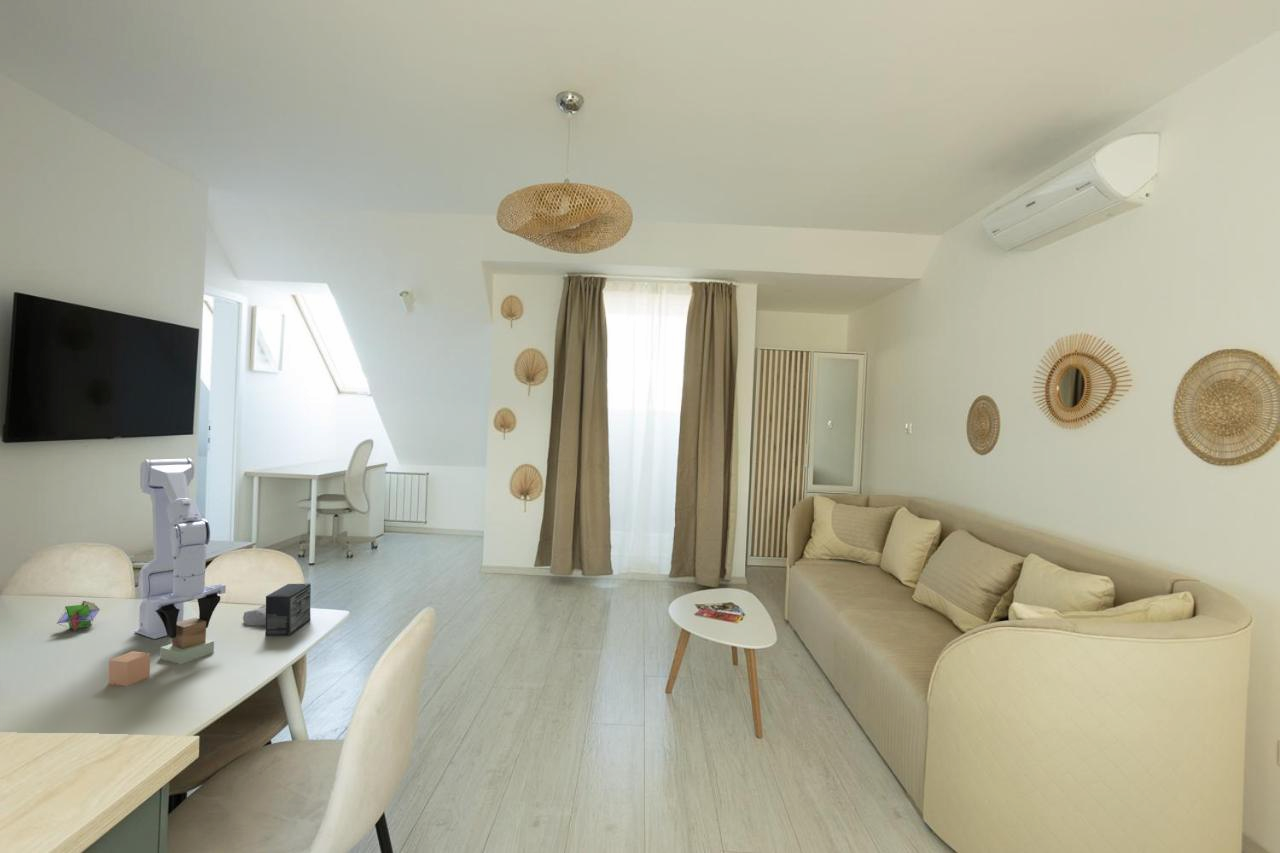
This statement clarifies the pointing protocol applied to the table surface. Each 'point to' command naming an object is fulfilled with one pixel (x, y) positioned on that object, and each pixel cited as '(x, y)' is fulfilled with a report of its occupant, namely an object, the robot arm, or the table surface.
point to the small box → (287, 609)
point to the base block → (186, 652)
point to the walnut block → (190, 633)
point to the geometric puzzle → (79, 615)
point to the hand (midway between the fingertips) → (187, 632)
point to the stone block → (255, 616)
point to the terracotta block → (129, 668)
